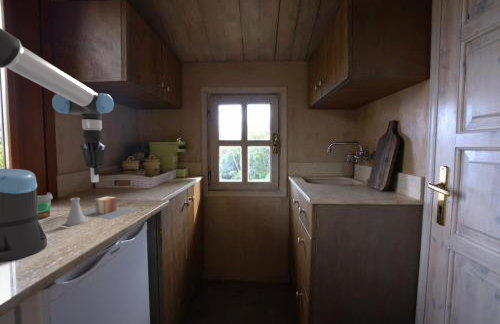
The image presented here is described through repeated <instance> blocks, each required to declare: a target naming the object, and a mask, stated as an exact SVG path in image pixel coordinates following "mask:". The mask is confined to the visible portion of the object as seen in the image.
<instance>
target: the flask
mask: <svg viewBox="0 0 500 324" xmlns="http://www.w3.org/2000/svg"><path fill="white" fill-rule="evenodd" d="M69 200H70V203H71V204H70V209H69V213H68V216H67V218H66V221H65V226H69V227H72V226H78V225H82V224H86V223H87V219H86V216H84V215H83V213H82V211H83V210H82V208H81V205H80V200H81V198H80V197H72V198H70V199H69Z"/></svg>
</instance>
